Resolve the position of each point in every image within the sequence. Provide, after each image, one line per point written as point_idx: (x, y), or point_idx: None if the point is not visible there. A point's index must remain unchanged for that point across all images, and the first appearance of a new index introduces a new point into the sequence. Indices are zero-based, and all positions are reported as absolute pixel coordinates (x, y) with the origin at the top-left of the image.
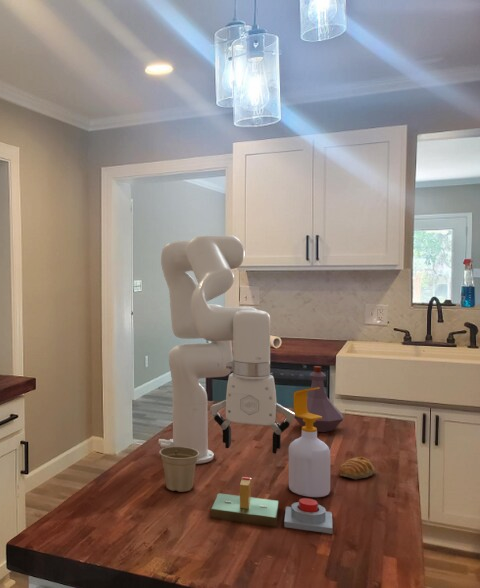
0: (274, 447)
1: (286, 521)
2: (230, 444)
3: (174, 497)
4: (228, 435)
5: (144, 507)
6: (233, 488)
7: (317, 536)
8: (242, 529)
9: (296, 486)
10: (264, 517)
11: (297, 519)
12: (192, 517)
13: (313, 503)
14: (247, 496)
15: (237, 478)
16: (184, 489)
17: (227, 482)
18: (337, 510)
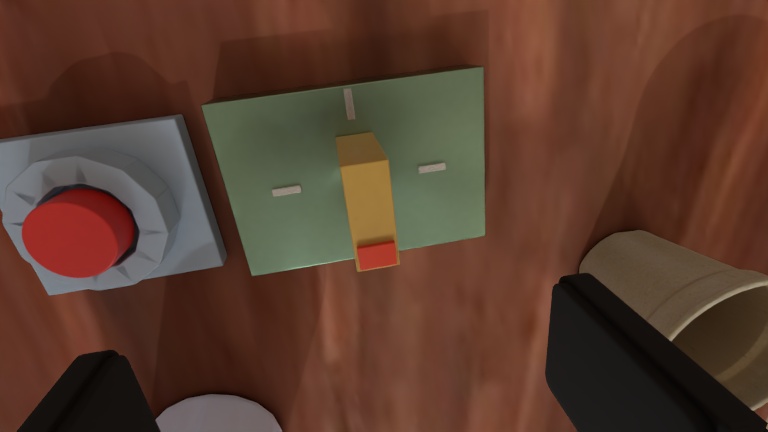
0: (58, 397)
1: (166, 123)
2: (548, 363)
3: (625, 185)
4: (651, 373)
5: (727, 42)
6: (445, 345)
7: (28, 90)
8: (328, 10)
9: (239, 419)
10: (253, 97)
11: (128, 157)
12: (540, 35)
13: (37, 231)
14: (343, 150)
15: (449, 415)
16: (602, 245)
17: (473, 376)
18: (72, 348)
